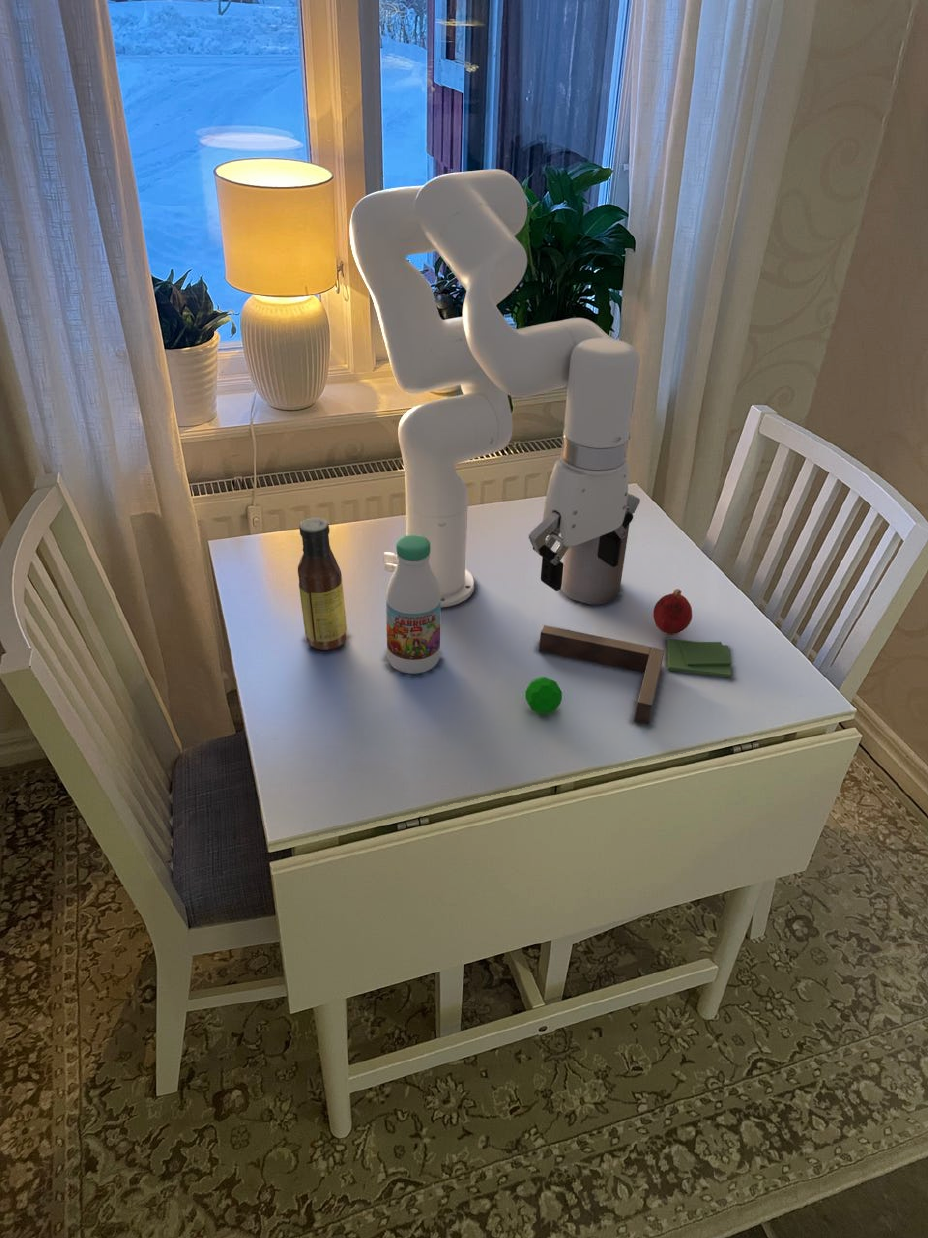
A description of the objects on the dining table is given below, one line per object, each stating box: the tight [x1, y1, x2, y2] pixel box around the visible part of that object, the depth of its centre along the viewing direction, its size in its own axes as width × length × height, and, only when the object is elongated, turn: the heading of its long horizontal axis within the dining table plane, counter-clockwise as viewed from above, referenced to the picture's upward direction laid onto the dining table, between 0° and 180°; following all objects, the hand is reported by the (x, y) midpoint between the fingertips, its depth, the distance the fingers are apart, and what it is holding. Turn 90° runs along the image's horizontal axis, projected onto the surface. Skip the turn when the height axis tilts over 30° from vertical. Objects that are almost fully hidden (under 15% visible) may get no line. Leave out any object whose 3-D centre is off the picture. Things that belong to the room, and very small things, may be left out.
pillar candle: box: [560, 524, 630, 606], centre depth 149 cm, size 10×10×15 cm
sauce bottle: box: [297, 517, 348, 651], centre depth 134 cm, size 7×6×20 cm
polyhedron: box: [524, 676, 563, 715], centre depth 127 cm, size 5×5×5 cm
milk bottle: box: [385, 534, 442, 675], centre depth 131 cm, size 8×8×20 cm
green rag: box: [666, 638, 732, 679], centre depth 138 cm, size 9×7×1 cm
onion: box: [652, 588, 693, 635], centre depth 141 cm, size 6×6×8 cm
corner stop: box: [538, 624, 666, 725], centre depth 133 cm, size 18×13×4 cm
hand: (579, 573), depth 118 cm, fingers open, 9 cm apart
